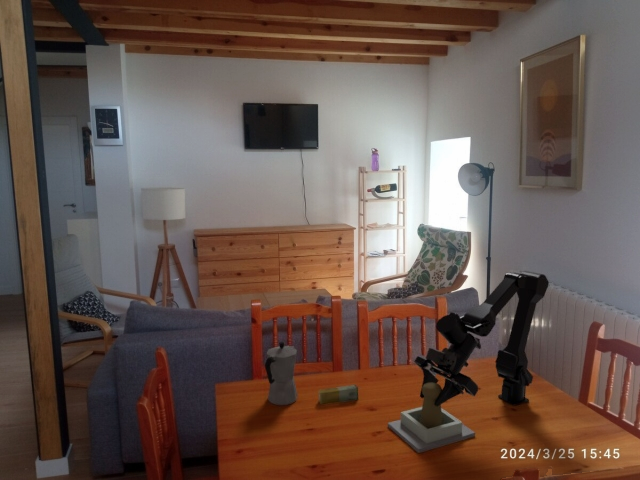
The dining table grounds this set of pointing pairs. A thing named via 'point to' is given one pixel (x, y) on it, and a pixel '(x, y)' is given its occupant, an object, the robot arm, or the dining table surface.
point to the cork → (431, 406)
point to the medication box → (338, 394)
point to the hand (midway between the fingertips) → (428, 401)
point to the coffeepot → (281, 374)
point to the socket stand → (429, 430)
